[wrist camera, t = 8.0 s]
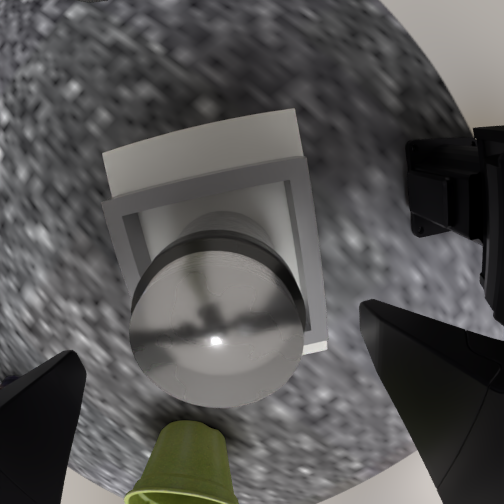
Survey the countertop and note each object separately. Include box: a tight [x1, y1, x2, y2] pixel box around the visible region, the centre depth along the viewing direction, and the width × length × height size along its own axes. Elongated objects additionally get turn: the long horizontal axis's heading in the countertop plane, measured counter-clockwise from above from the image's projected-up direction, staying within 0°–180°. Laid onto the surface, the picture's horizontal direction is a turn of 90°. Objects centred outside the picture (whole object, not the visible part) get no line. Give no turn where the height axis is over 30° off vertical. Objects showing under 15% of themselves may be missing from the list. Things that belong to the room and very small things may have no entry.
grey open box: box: [101, 108, 329, 355], centre depth 16 cm, size 9×13×6 cm
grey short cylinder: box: [129, 211, 306, 408], centre depth 12 cm, size 6×6×7 cm
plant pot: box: [124, 420, 239, 504], centre depth 21 cm, size 9×9×9 cm
